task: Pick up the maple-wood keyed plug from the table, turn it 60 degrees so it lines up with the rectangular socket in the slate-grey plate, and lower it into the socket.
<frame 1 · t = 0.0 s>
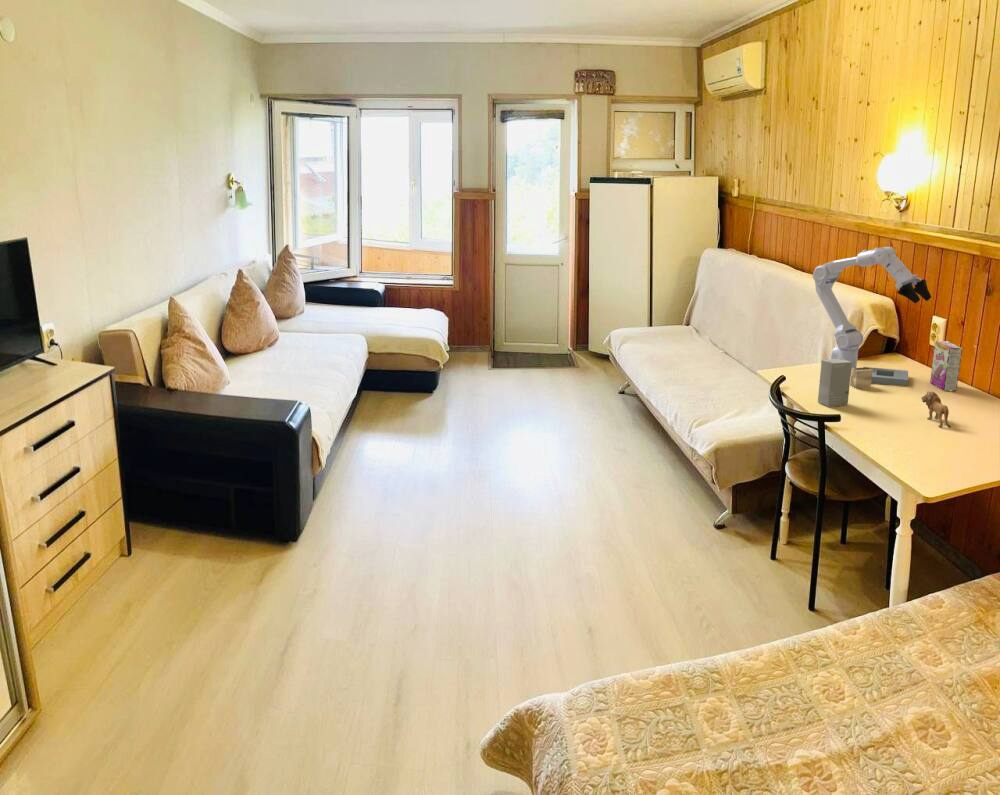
hand: (923, 300, 304), 32 cm above the table, tool tilted 50°, fingers open, 7 cm apart
socket plate: (884, 379, 321), on the table
lion figurine: (935, 422, 274), on the table
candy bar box: (942, 387, 310), on the table
skincare box: (832, 404, 294), on the table
keyed plug: (860, 386, 313), on the table
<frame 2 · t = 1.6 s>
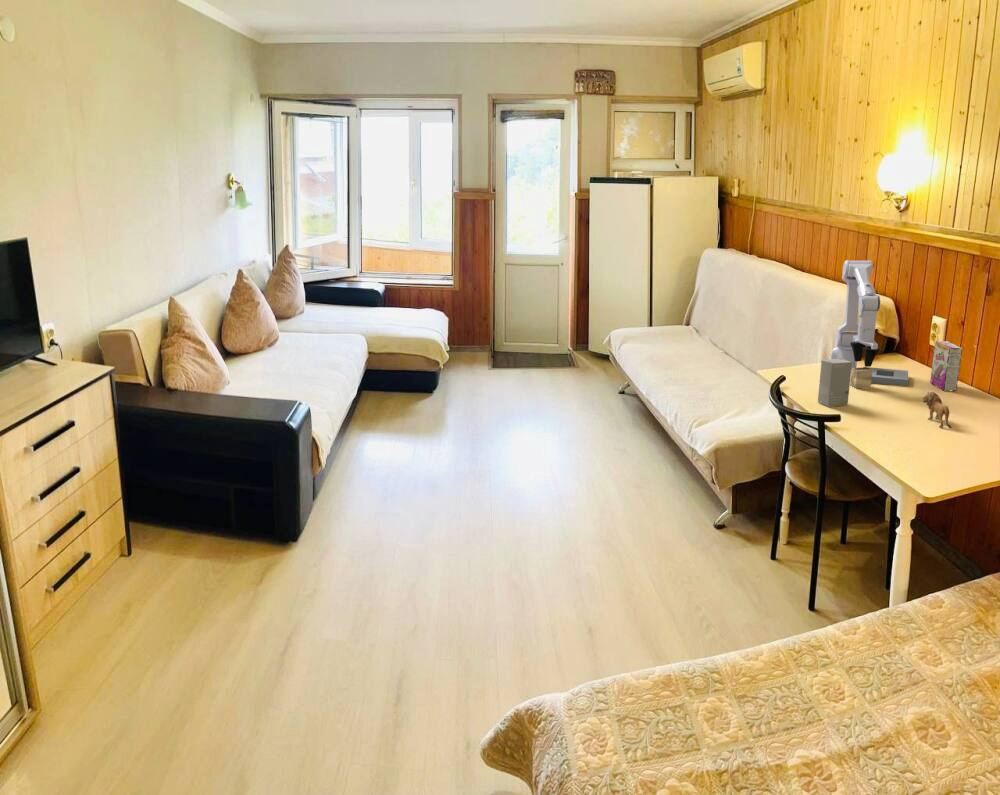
hand: (862, 363, 310), 9 cm above the table, tool pointing down, fingers open, 7 cm apart
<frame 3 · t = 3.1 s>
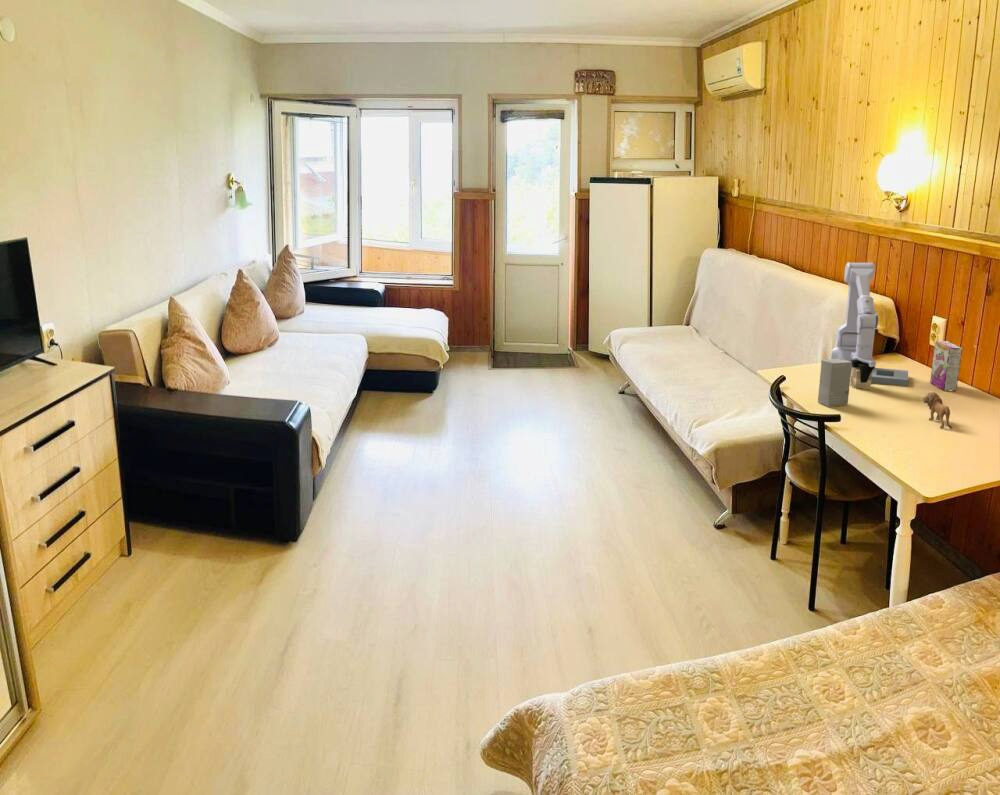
hand: (860, 380, 312), 2 cm above the table, tool pointing down, fingers closed on keyed plug, 4 cm apart
keyed plug: (860, 386, 313), on the table, touching gripper
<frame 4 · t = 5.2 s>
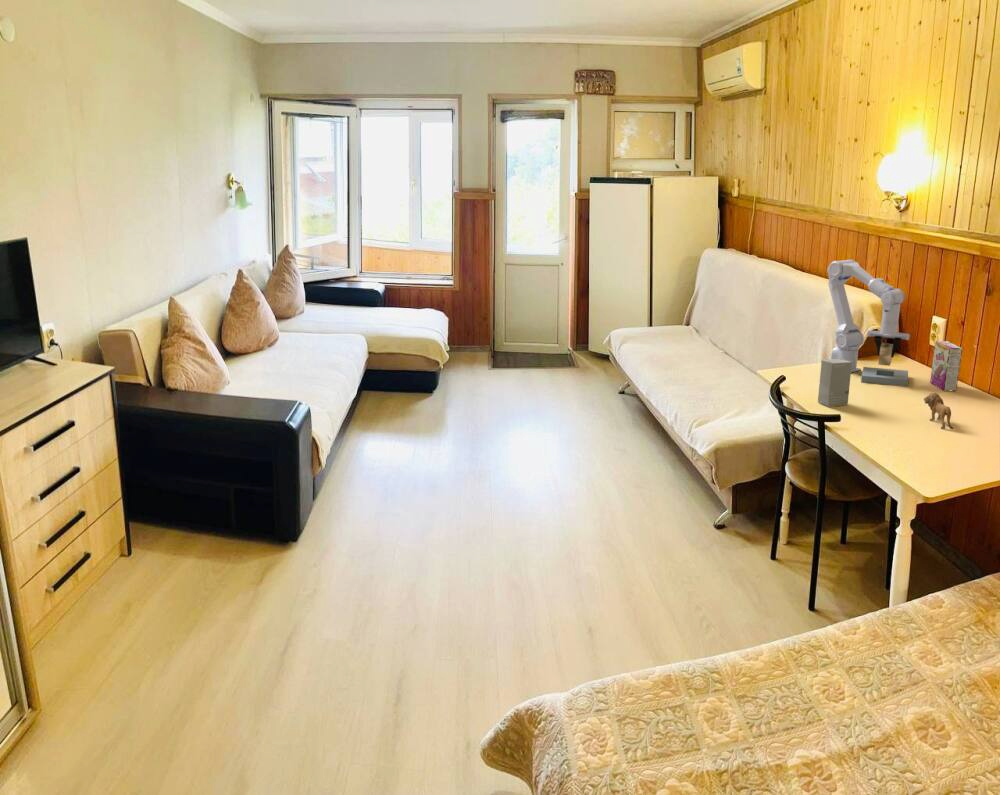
hand: (885, 356, 318), 9 cm above the table, tool pointing down, fingers closed on keyed plug, 4 cm apart
keyed plug: (884, 363, 319), point 7 cm above the table, touching gripper
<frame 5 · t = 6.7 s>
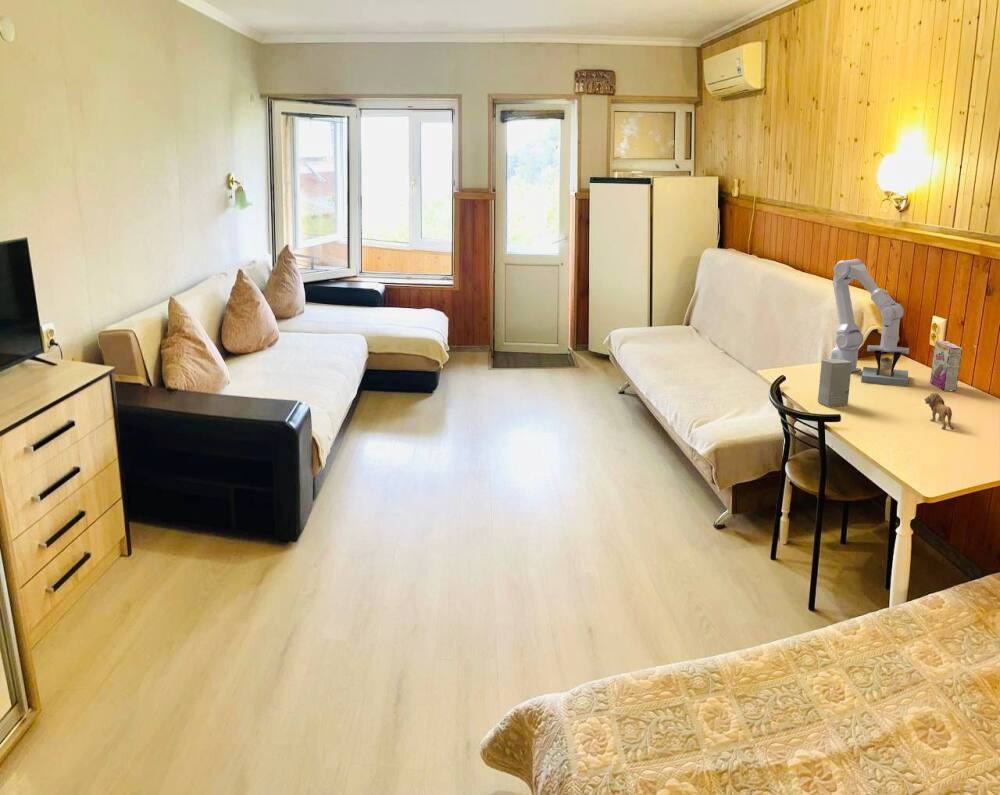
hand: (885, 370, 320), 4 cm above the table, tool pointing down, fingers closed on keyed plug, 4 cm apart
keyed plug: (884, 377, 321), point 1 cm above the table, touching gripper
when the fingers open (3 cm above the table, at t = 7.6 s): keyed plug stays where it is, resting in socket plate.
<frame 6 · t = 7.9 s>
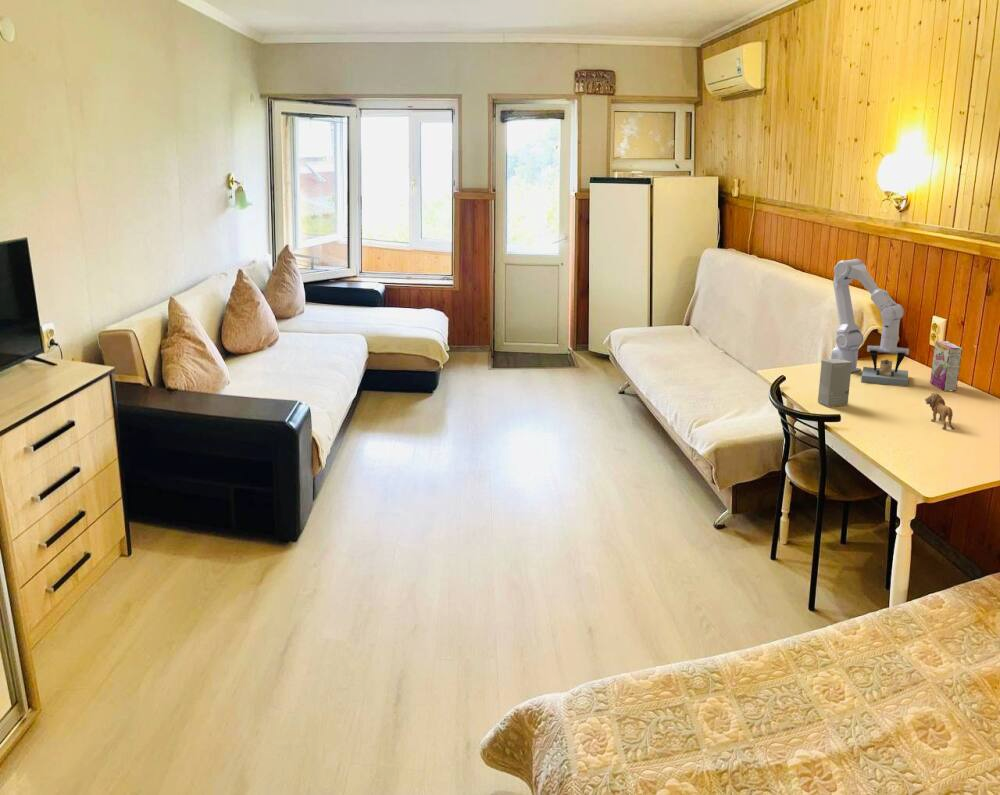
hand: (885, 370, 320), 3 cm above the table, tool pointing down, fingers open, 7 cm apart
keyed plug: (884, 379, 321), resting in socket plate
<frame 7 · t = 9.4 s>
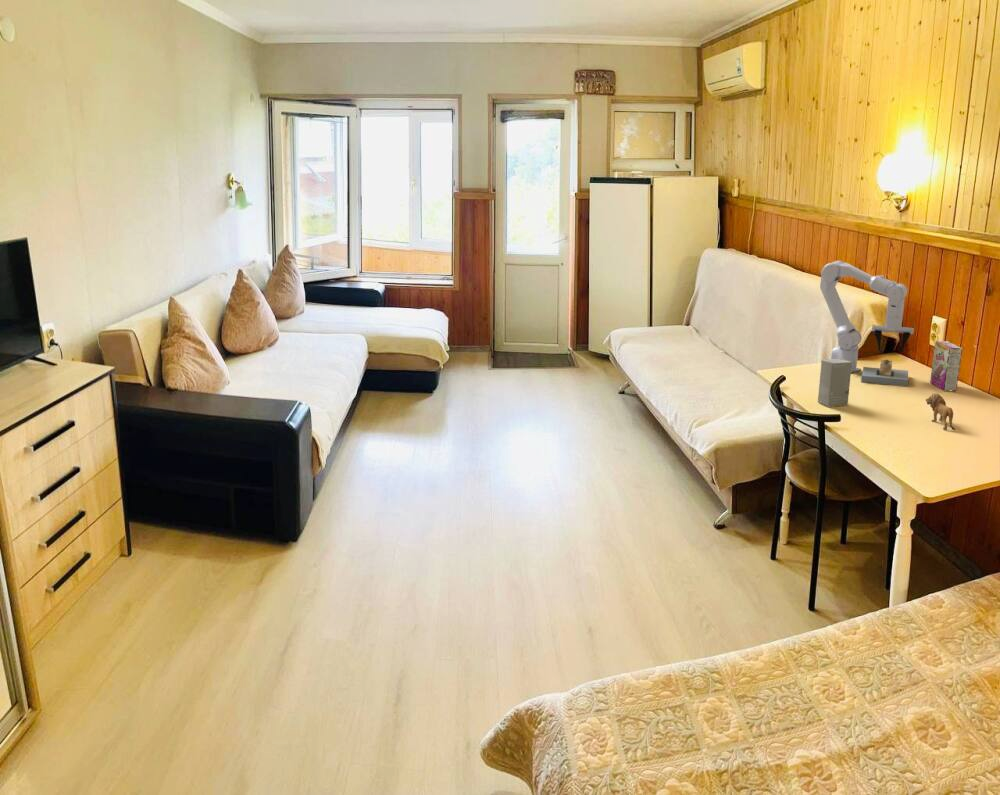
hand: (890, 350, 322), 10 cm above the table, tool pointing down, fingers open, 7 cm apart
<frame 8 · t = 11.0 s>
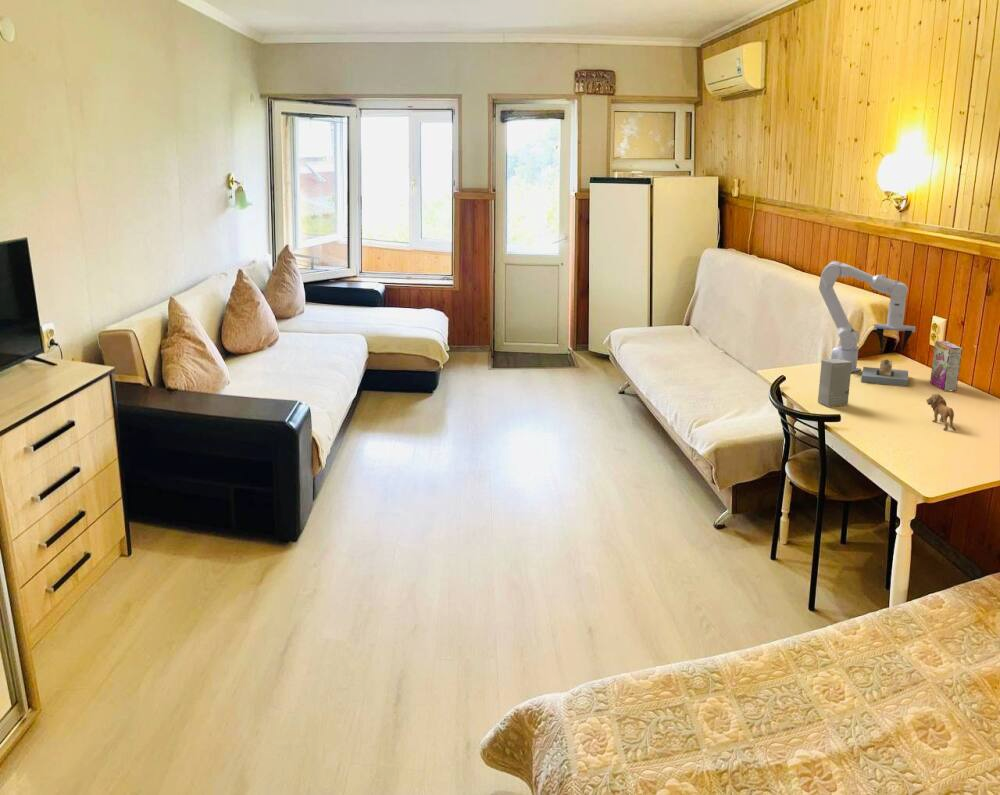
hand: (891, 348, 325), 10 cm above the table, tool pointing down, fingers open, 7 cm apart
at the end: keyed plug 0.4 cm off-centre on the socket plate, point 0.0 cm above the socket plate's base; keyed plug tilted 0°; the gripper is holding nothing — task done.
